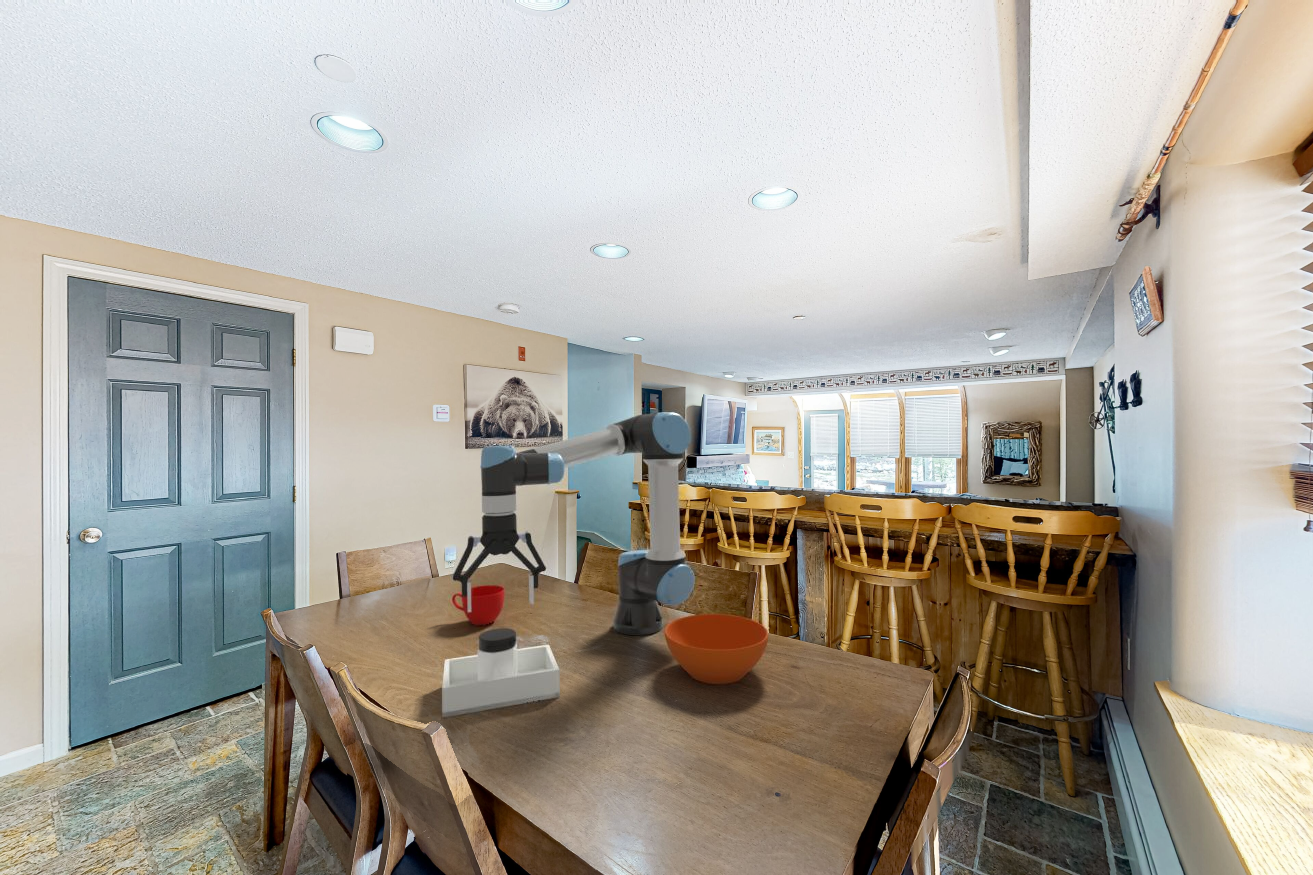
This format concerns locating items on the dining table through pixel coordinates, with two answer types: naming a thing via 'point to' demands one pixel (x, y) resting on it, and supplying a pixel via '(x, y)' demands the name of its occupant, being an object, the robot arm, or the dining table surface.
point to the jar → (497, 653)
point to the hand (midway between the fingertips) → (501, 606)
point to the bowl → (716, 646)
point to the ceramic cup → (482, 604)
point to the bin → (499, 683)
